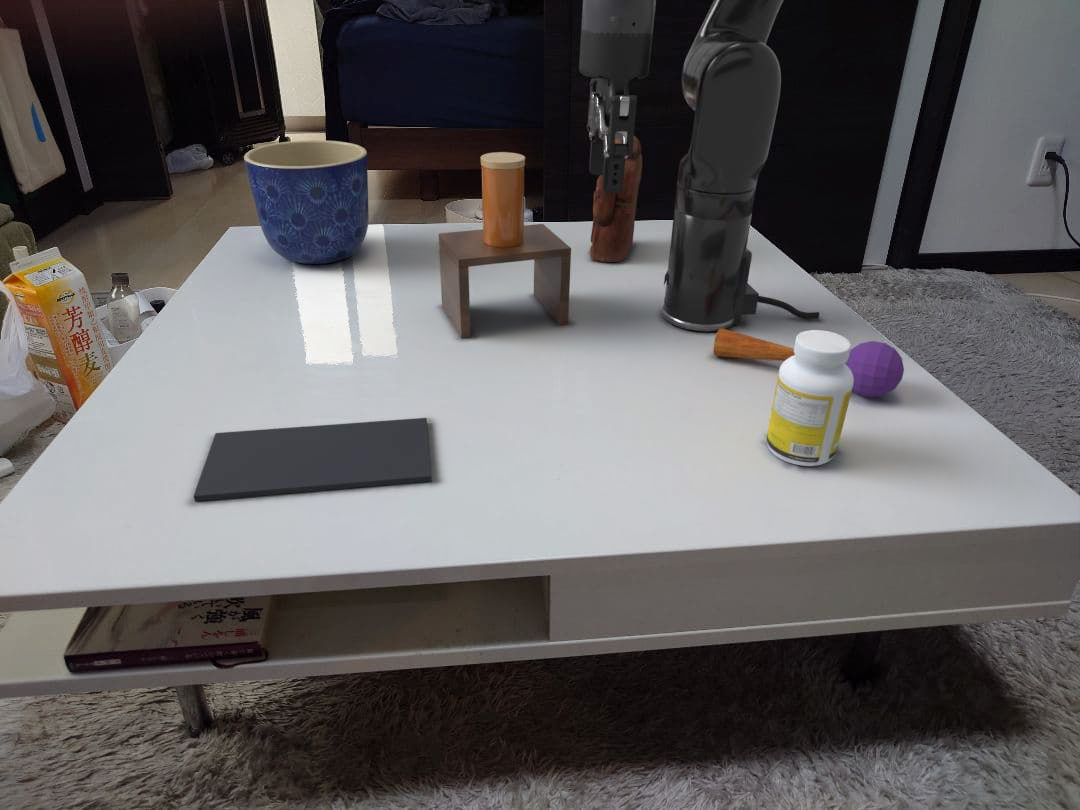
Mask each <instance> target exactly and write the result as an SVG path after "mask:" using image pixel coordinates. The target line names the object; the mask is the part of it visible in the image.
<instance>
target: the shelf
mask: <svg viewBox="0 0 1080 810" xmlns="http://www.w3.org/2000/svg"><path fill="white" fill-rule="evenodd" d="M438 250H439V252H438V254H439V272H440V292H441V293H440V295H441V307H442V309H443V311H444V312H445V314H446V315H447V317H448V319H449V320H450V322H451V323H452V326H453V327H454V329H455V330H456V332H457V333H458V335H459V337H460V338H461V339H465V338H471V307H470V306H471V305H470V304H471V303H470V275H469V274H470V273H469V268H470V267H479V266H487V265H497V264H505V263H516V262H525V261H533V297H534V298H535V299H536V301H538V302H539V304H540V305H541V306H542V307H543V308H544V309H545V310H546V312H547V313H548V314H549V315H550V316H551V317H552V318H553V319H554V320H555V321H556V323H557V324H558V325H560V326H561V325H569V312H570V288H571V262H572V261H571V260H572V247H571V246H570V245H568V244H567V243H566V242H565V241H564V240H562V238H560V237H559V236H558V235H556V234H555V233H554V232H553V231H552V230H551V229H549V228H548V227H547V225H545V224H544V223H537V224H524V241H523V243H521V244H520V245H517V246H512V247H495V246H491V245H488V244H486V243H484V241H483V228H482V229H474V230H473V229H469V230H462V231H461V230H460V231H450V232H440V233H438Z"/></svg>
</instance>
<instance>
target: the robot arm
mask: <svg viewBox="0 0 1080 810" xmlns="http://www.w3.org/2000/svg"><path fill="white" fill-rule="evenodd" d="M783 2H784V0H713V2H712V4H711V6H710V9H709V10H708V12H707V14H706V16H705V18H704V20H703V22H702V24H701V26H700V28H699V30H698V32H697V34H696V36H695V38H694V41H693V42H692V44H691V46H690V48H689V50H688V52H687V55H686V57H685V60H684V63H683V66H682V71H681V76H680V77H681V79H680V83H681V85H680V86H681V91H682V92H681V93H682V95H683V98H684V100H685V102H686V104H687V105H688V107H689V108H690V109H691V110H692V111H694V119H693V126H692V133H691V139H690V144H689V148H688V151H687V153H686V154H685V155H683V156H682V157H681V158H680V161H679V163H678V171H677V179H676V180H677V181H676V188H675V198H674V199H675V200H674V208H673V218H672V219H673V220H672V227H671V236H670V237H671V238H670V244H669V253H668V254H669V257H668V265H667V270H666V273H665V274H664V278H663V279H664V281H663V286H665V292H664V300H663V305H662V312H661V313H662V317H663V319H664V320H665V321H667V323H670V324H672V325H674V326H676V327H678V328H681V329H685V330H689V331H696V332H718V330H719V329H720V328H723V329H726V330H727V329H729V328H731V327H733V326H735V325H736V326H737V325H741V324H742V320H743V316H751V315H752V316H753V315H756V313H757V308H758V303H760V304H765V305H770V306H774V307H777V308H780V309H782V310H783V309H784V310H785V311H787V312H788V313H790V314H791V315H793V316H794V317H796V318H799V319H803V320H817V319H819V318H820V314H821V313H820V312H819V311H814V312H813V311H812V312H805V311H801V310H799V309H797V308H796V307H794V306H793V305H791V304H789V303H787V302H785V301H782V300H780V299H776V298H772V297H769V296H768V297H767V296H762V295H760V293H759V292H758V291H757V290H756V289H754V287H752V285H750V283H748V282H749V276H750V272H751V271H750V270H751V263H752V258H753V252H751V250H750V249H749V248H747V247H748V240H749V234H750V229H751V221H752V215H753V210H754V203H755V195H756V189H757V185H758V179H759V175H760V173H761V171H762V170H763V167H764V166H765V164H766V162H767V159H768V156H769V152H770V146H771V141H772V137H773V134H774V133H773V132H774V128H775V122H776V118H777V113H778V107H779V101H780V97H781V96H780V95H781V86H782V85H781V84H782V73H781V66H780V61H779V60H778V57H777V55H776V54H775V52H774V51H773V50H772V49H771V47H769V46H768V45H767V41H768V38H769V36H770V33H771V31H772V28H773V25H774V23H775V21H776V18H777V15H778V13H779V11H780V8H781V6H782V4H783ZM656 3H657V0H582V14H581V29H580V46H579V62H578V63H579V64H578V69H579V73H580V74H581V75H583V76H585V77H589V78H591V79H590V82H589V87H590V88H589V100H588V101H589V102H588V112H587V113H588V115H587V124H586V129H587V132H588V138H589V141H590V153H589V166H588V171H589V173H590V174H591V175H593V176H600V175H603V180H602V190H603V191H604V192H605V193H621V192H622V190H623V180H624V170H625V159H627V158H628V156H632V153H633V139H634V136H635V125H636V115H637V114H636V113H637V104H638V98H637V95H636V94H630V86H629V84H630V81H631V80H641V79H644V78H646V77H648V75H649V73H650V64H651V54H652V45H653V36H654V27H655V26H654V25H655V24H654V23H655V16H656V15H655V14H656ZM615 139H619V140H621V144H615Z"/></svg>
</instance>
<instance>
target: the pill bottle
mask: <svg viewBox="0 0 1080 810" xmlns="http://www.w3.org/2000/svg"><path fill="white" fill-rule="evenodd" d="M793 349H794V353H795V355H794V356H791V357H790V358H788V359H786V360H785V361H782V363H781V365H780V367H779V369H778V375H777V380H776V384H775V391H774V395H773V401H772V406H771V411H770V417H769V421H768V428H767V431H766V439H765V440H766V445H767V447H768V449H769V451H770V452H771V453H772V454H773V455H774V456H775V457H777V458H778V459H780V460H782V461H784V462H786V463H789V464H793V465H797V466H803V467H816V466H821V465H824V464H827V463H828V462H830V461H831V460H833V459H834V457H835V456H836V454H837V451H838V448H839V443H840V439H841V435H842V431H843V428H844V423H845V420H846V416H847V412H848V409H849V403H850V399H851V396H852V392H853V390H852V388H853V383H854V378H853V374H852V372H851V370H850V369H849V367H848V366H847V365H846V364H845V363H846V362H847V361H848V358H849V354H850V350H851V349H852V345H851V342H850V340H849V339H848V338H846V337H844V336H843V335H841V334H838V333H836V332H833V331H828V330H821V329H809V330H804V331H801V332H799V333H798V334H797V335H796V337H795V341H794V346H793Z"/></svg>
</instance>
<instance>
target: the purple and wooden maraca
mask: <svg viewBox="0 0 1080 810" xmlns="http://www.w3.org/2000/svg"><path fill="white" fill-rule="evenodd" d="M713 355H714V356H715V357H724V358H725V357H726V358H735V359H737V358H738V359H739V358H741V359H751V360H766V361H779V362H784V361H785V360H786V359H788V358H790V357H791V356H794V355H795V353H794V347H789V346H786V345H782V344H779V343H775V342H772V341H768V340H764V339H761V338H757V337H754V336H751V335H747V334H743V333H740V332H737V331H733V330H729V329H727V328H726V329H723V328H720V329H719V330H718V331H716V335H715V338H714V342H713ZM845 364H846V365H847V366H848V367H849V369H850V370H851V372H852V374H853V378H854V383H853V388H852V392H854V393H856V394H858V395H859V396H862V397H867V398H877V397H882V396H885V395H887V394H889V393H891V392H892V391H894V390H896V388H897V387H898V385H899V384H900V383H901V381H902V379H903V376H904V372H905V366H904V362H903V357H902V356H901V354H899V352H898V350H897V349H896V348H894V347H893V346H892V345H889V344H888V343H886V342H881V341H876V340H871V341H866V342H865V341H864V342H860V343H859V344H857V345H855V346H853V348H852V347H851V349H850V354H849V358H848V361H847V362H846V363H845Z"/></svg>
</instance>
